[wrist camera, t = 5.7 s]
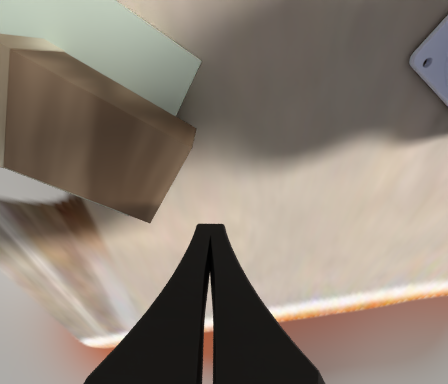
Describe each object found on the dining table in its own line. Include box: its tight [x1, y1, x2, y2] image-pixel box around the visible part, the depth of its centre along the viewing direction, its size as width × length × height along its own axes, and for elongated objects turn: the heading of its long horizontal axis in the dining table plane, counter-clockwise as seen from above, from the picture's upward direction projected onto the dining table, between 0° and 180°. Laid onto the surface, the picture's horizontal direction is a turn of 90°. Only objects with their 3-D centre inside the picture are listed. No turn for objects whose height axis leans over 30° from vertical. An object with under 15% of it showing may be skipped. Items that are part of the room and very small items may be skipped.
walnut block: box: [0, 34, 196, 223], centre depth 12 cm, size 4×6×9 cm
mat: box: [0, 0, 202, 216], centre depth 12 cm, size 12×13×2 cm
